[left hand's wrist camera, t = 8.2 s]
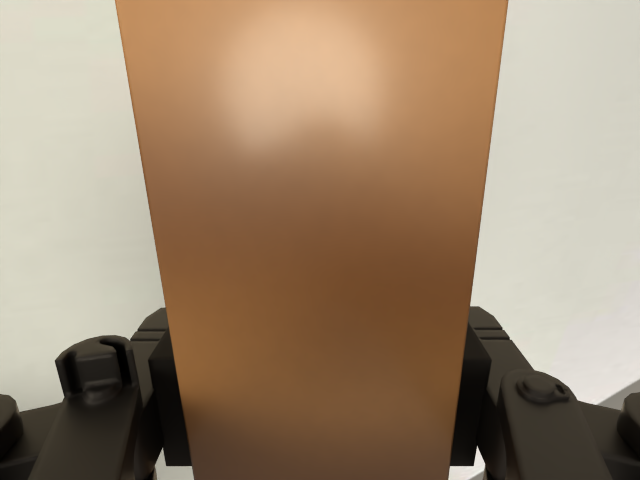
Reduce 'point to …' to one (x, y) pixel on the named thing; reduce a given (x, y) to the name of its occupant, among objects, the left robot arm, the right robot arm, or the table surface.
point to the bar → (316, 222)
